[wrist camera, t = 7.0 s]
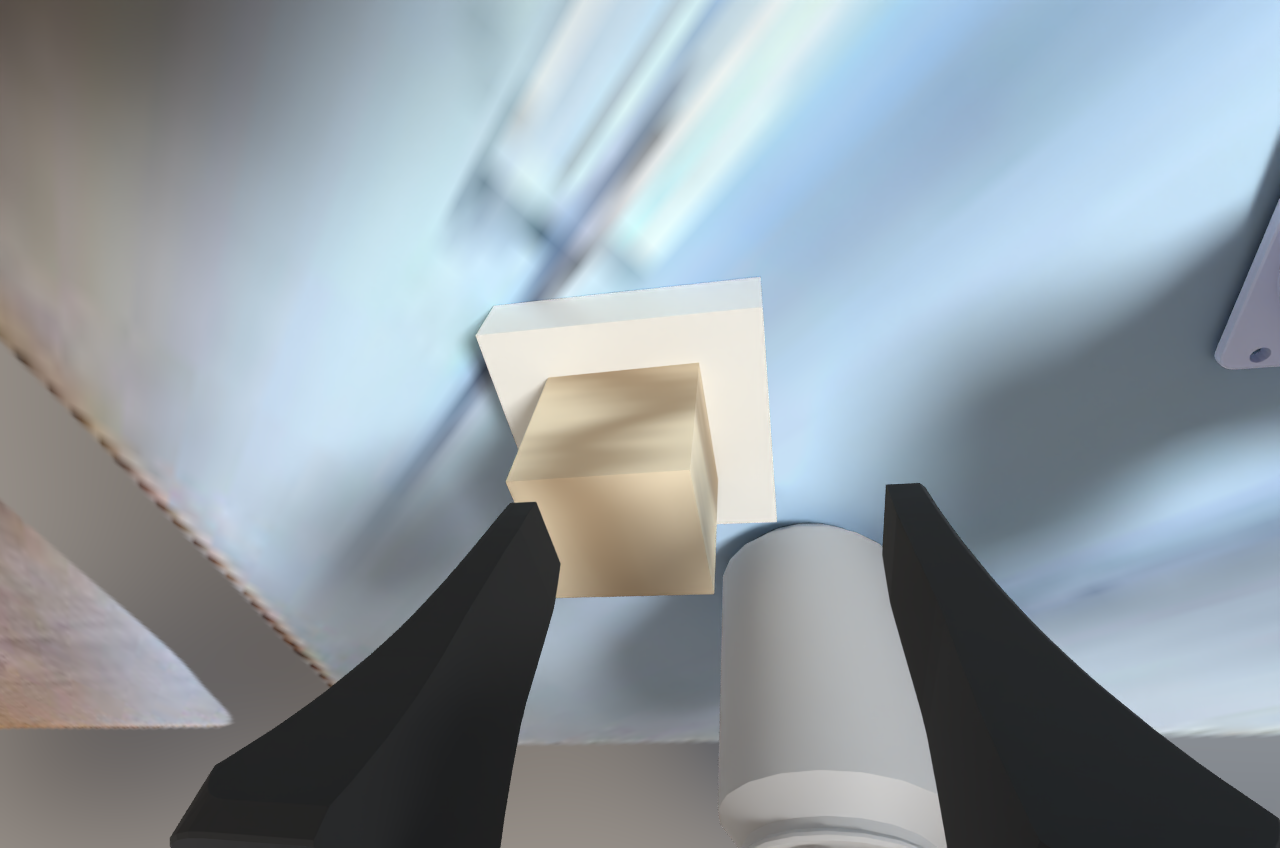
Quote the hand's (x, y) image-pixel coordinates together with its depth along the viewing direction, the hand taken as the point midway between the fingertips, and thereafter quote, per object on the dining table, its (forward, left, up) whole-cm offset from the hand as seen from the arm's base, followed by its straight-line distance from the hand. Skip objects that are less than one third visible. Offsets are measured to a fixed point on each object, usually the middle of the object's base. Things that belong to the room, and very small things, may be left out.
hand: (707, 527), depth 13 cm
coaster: (+3, +4, -10) cm, 11 cm away
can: (-3, +13, -10) cm, 17 cm away
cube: (+3, +3, -8) cm, 9 cm away
